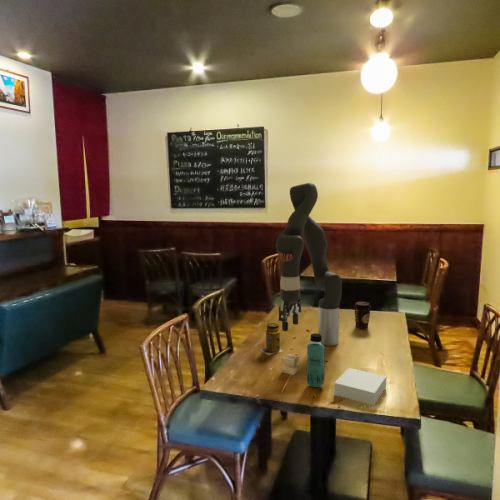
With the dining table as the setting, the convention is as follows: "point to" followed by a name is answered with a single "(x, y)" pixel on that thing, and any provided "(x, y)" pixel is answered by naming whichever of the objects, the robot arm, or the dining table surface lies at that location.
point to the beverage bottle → (315, 361)
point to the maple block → (290, 364)
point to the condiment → (272, 339)
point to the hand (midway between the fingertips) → (290, 327)
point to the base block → (360, 386)
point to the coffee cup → (362, 315)
